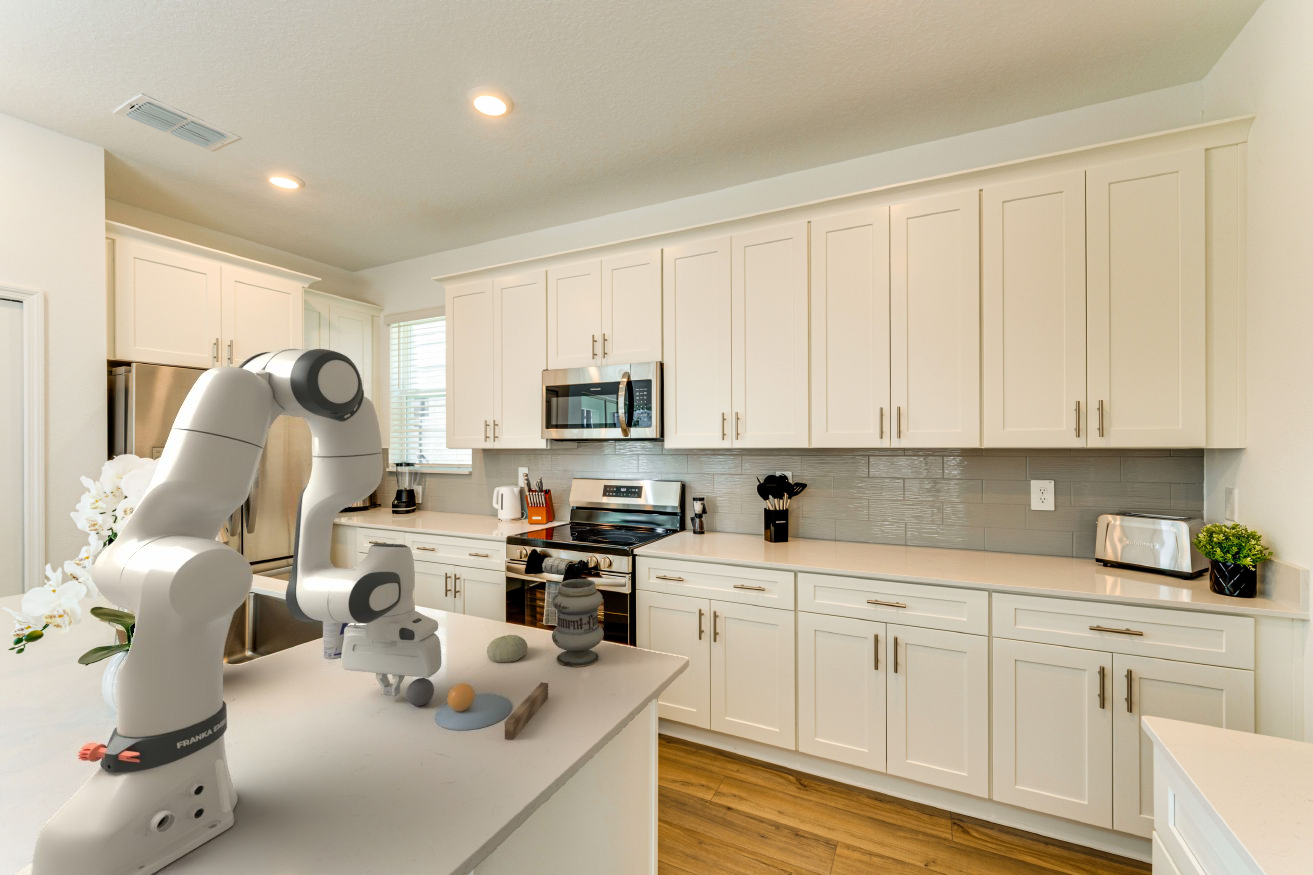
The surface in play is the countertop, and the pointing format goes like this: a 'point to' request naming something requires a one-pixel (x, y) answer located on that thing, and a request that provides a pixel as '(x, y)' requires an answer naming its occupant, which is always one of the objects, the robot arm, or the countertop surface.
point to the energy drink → (333, 639)
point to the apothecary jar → (577, 622)
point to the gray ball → (420, 691)
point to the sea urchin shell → (507, 648)
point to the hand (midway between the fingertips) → (390, 694)
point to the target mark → (475, 713)
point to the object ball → (461, 697)
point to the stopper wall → (526, 711)
